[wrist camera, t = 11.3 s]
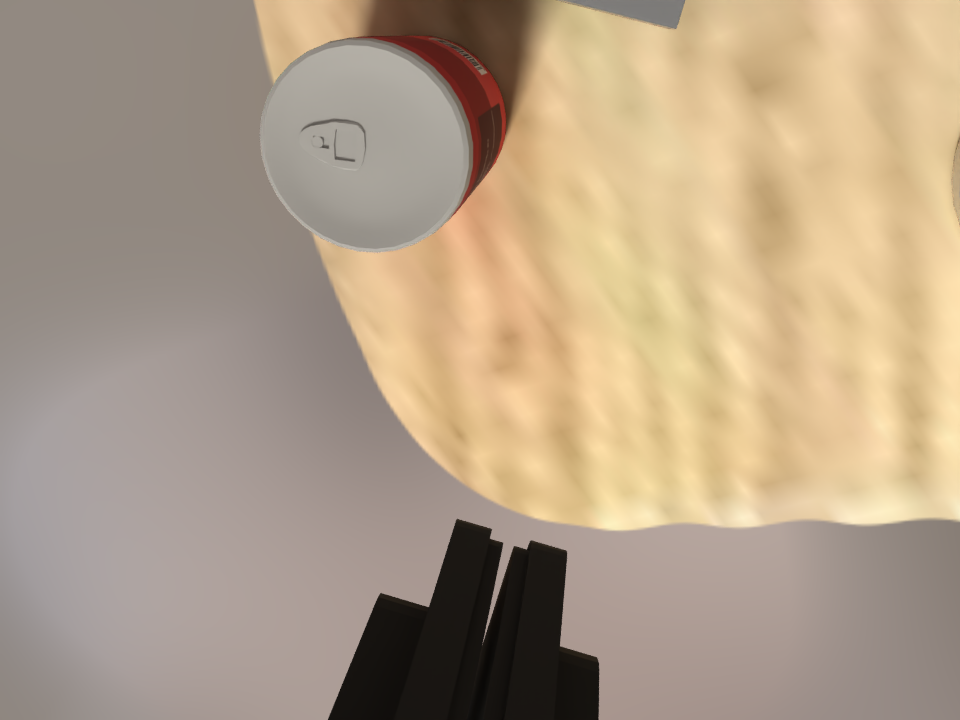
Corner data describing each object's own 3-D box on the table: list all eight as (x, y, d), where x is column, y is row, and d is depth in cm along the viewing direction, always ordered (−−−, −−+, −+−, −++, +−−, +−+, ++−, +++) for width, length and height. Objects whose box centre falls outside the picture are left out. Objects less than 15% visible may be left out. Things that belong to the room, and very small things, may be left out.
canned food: (336, 48, 36) (232, 56, 26) (497, 21, 34) (451, 18, 25) (368, 204, 39) (286, 265, 29) (518, 186, 37) (485, 243, 28)
